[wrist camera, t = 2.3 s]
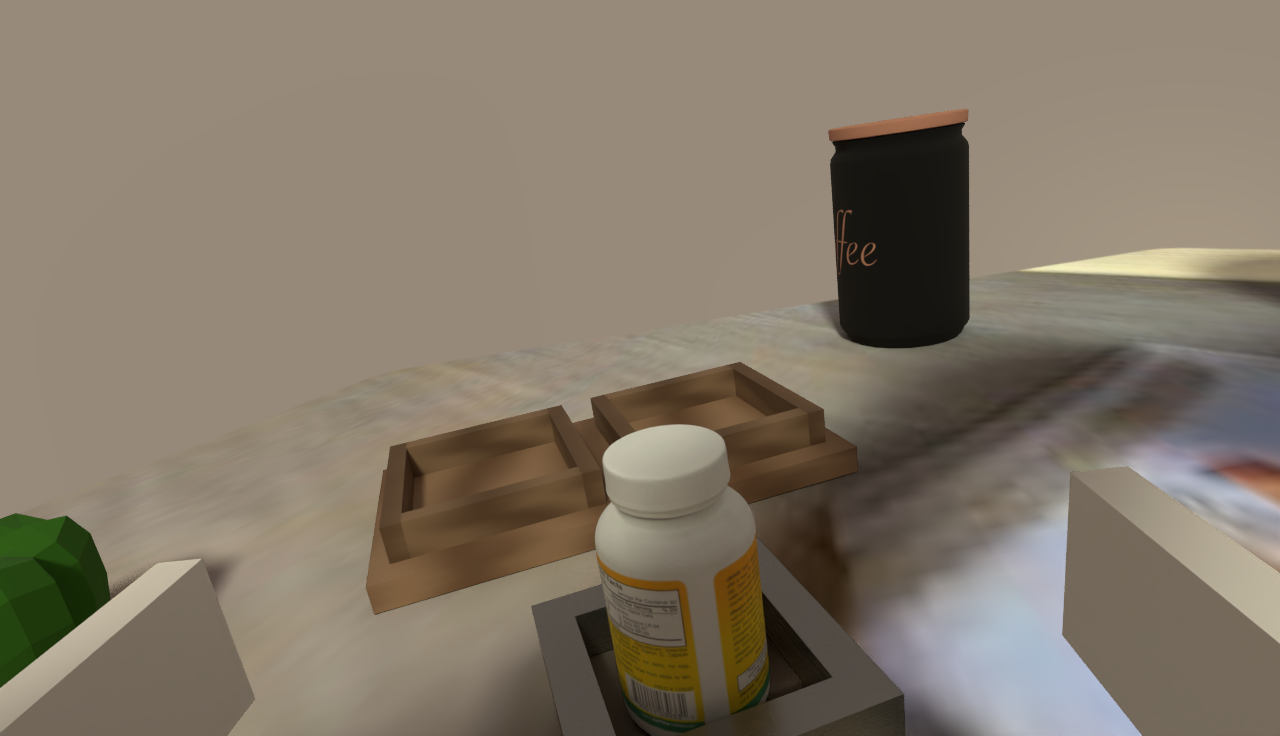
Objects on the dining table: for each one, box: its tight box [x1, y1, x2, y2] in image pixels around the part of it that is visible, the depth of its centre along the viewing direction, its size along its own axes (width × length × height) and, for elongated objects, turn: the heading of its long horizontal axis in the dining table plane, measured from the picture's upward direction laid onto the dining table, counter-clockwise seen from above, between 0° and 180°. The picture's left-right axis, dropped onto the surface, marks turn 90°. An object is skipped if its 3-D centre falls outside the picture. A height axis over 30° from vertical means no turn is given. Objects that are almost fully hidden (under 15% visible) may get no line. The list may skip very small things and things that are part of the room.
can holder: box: [531, 537, 905, 736], centre depth 24 cm, size 10×10×2 cm
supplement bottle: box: [595, 424, 770, 736], centre depth 23 cm, size 5×5×10 cm
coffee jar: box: [828, 109, 969, 348], centre depth 58 cm, size 11×11×18 cm
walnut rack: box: [366, 362, 858, 614], centre depth 41 cm, size 26×14×4 cm, turn 107°
